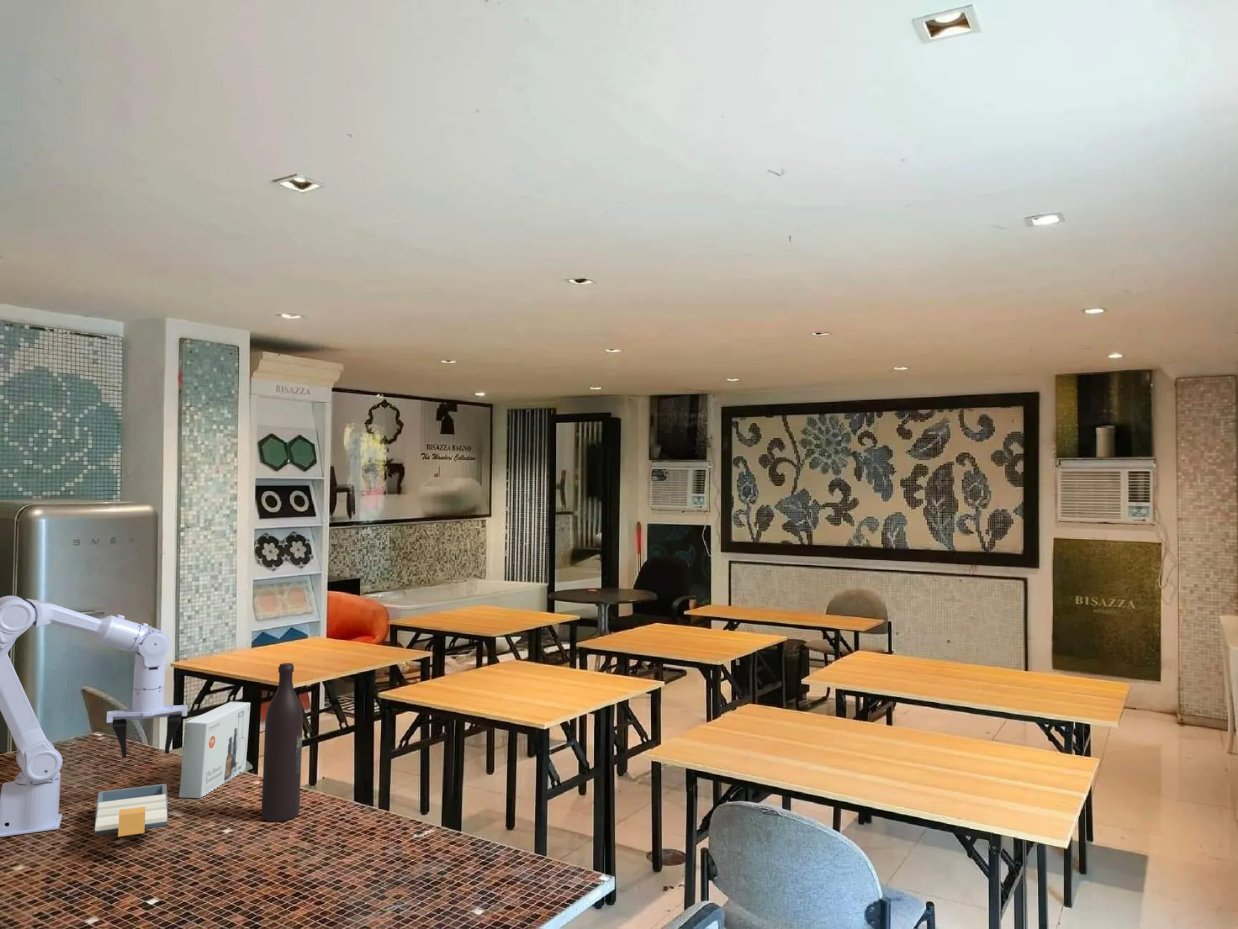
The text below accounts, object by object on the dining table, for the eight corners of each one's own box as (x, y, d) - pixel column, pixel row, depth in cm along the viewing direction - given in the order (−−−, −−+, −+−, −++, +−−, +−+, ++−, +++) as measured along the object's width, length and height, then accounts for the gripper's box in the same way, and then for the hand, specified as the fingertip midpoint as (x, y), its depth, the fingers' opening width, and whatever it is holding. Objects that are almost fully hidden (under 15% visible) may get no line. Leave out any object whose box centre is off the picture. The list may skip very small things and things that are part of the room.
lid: (93, 840, 147) (94, 818, 148) (98, 806, 164) (99, 787, 164) (167, 829, 153) (168, 808, 153) (165, 798, 169) (166, 779, 169)
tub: (94, 835, 160) (95, 813, 161) (97, 812, 173) (98, 791, 173) (167, 825, 166) (167, 804, 166) (165, 803, 178) (166, 783, 179)
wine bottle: (299, 820, 170) (305, 666, 172) (261, 824, 168) (267, 668, 169) (298, 808, 177) (304, 660, 179) (261, 812, 174) (267, 662, 176)
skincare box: (203, 799, 181) (206, 722, 182) (177, 799, 182) (181, 722, 182) (248, 769, 202) (251, 701, 203) (225, 769, 203) (228, 700, 203)
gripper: (107, 694, 171) (103, 763, 170) (189, 688, 178) (186, 755, 177) (108, 687, 177) (105, 754, 176) (187, 681, 184) (184, 746, 183)
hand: (145, 754), depth 177 cm, fingers open, 7 cm apart
